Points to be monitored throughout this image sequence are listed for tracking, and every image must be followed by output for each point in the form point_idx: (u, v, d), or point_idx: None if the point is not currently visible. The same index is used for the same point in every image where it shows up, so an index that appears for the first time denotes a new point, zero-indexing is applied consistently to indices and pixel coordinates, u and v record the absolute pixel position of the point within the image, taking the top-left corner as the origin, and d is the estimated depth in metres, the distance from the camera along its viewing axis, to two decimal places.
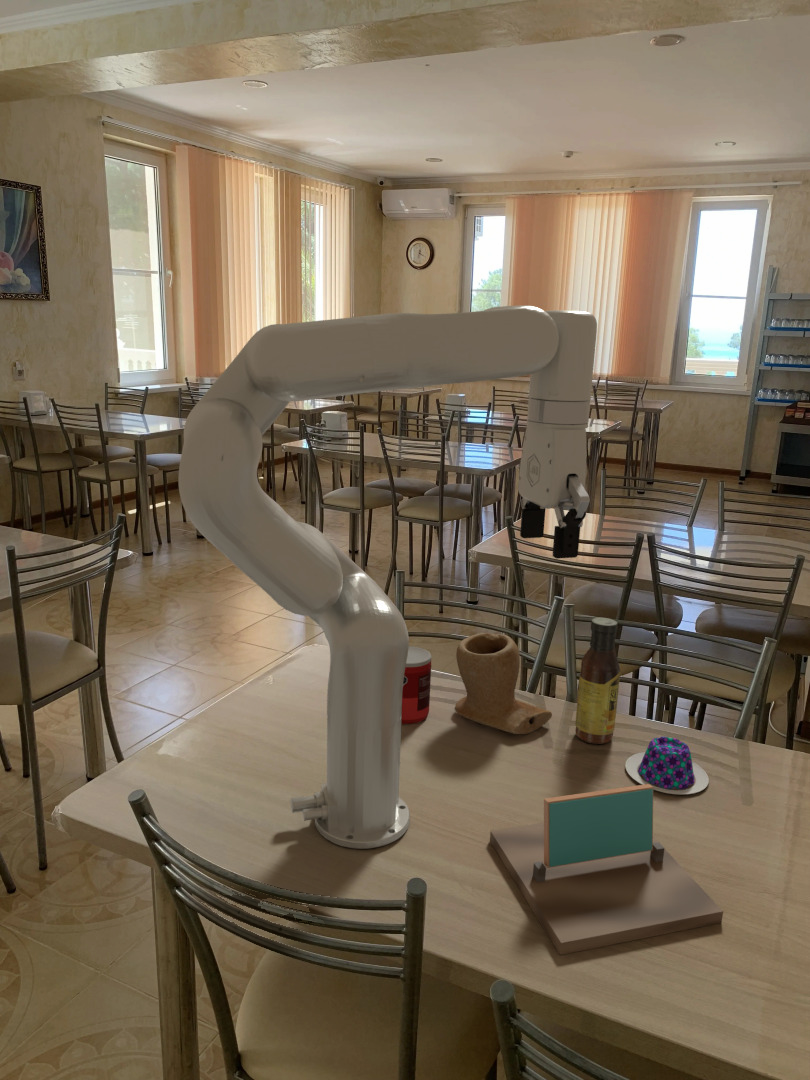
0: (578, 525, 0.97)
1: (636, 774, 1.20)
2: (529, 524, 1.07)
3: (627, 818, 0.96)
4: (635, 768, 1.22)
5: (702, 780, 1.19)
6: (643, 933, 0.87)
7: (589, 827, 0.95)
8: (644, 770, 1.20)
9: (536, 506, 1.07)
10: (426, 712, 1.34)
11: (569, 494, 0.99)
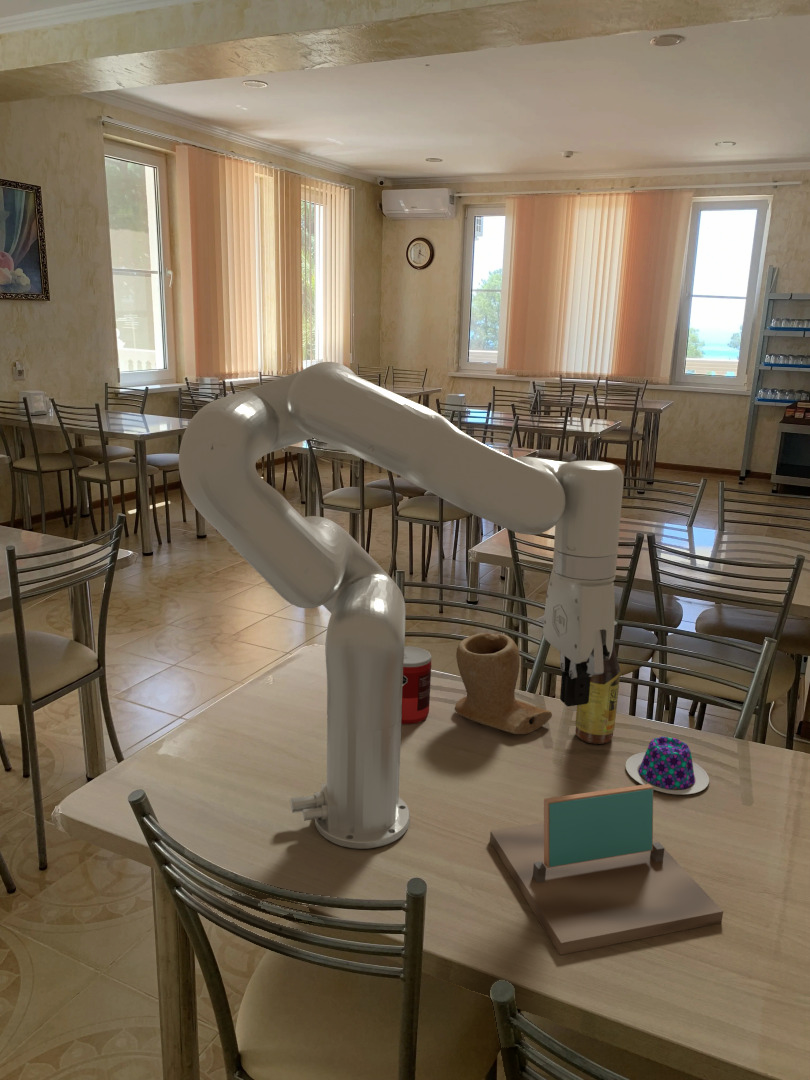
0: (589, 675, 0.99)
1: (637, 775, 1.20)
2: None
3: (627, 818, 0.96)
4: (635, 769, 1.22)
5: (702, 779, 1.19)
6: (643, 933, 0.87)
7: (589, 827, 0.95)
8: (645, 771, 1.20)
9: None
10: (426, 712, 1.34)
11: None
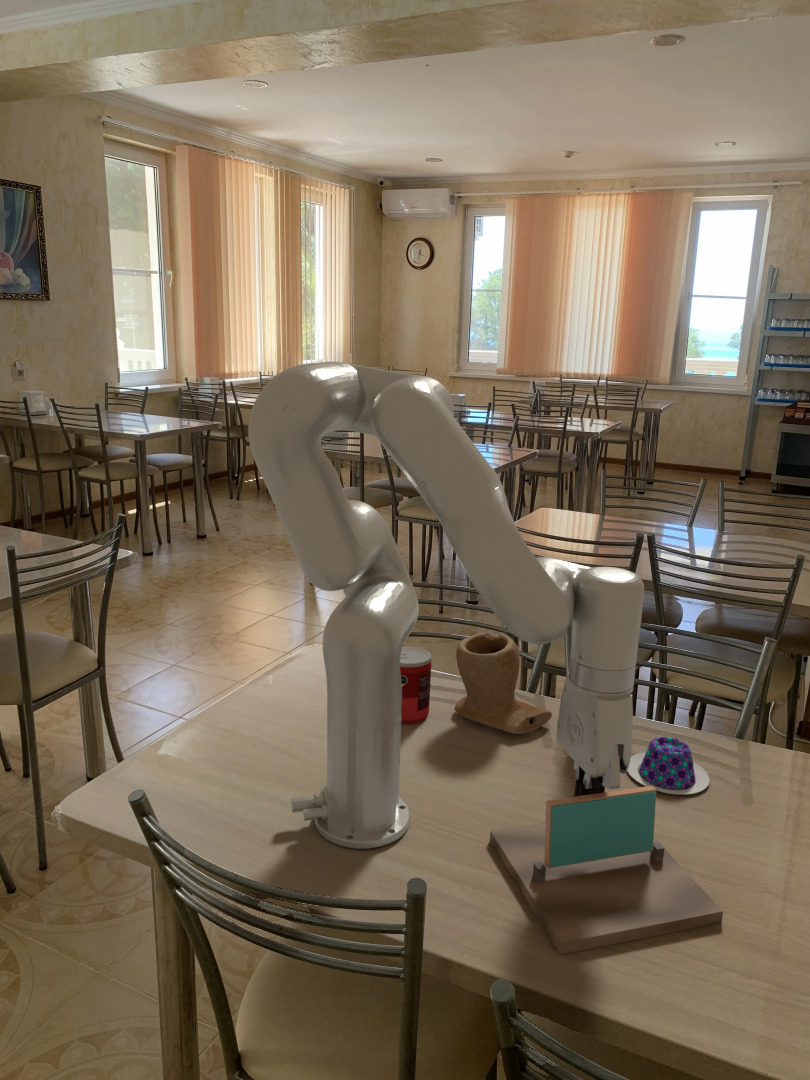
0: None
1: (638, 776, 1.20)
2: None
3: (629, 820, 0.96)
4: (636, 769, 1.21)
5: (702, 778, 1.19)
6: (643, 933, 0.87)
7: (591, 829, 0.94)
8: (646, 771, 1.19)
9: None
10: (426, 712, 1.34)
11: None
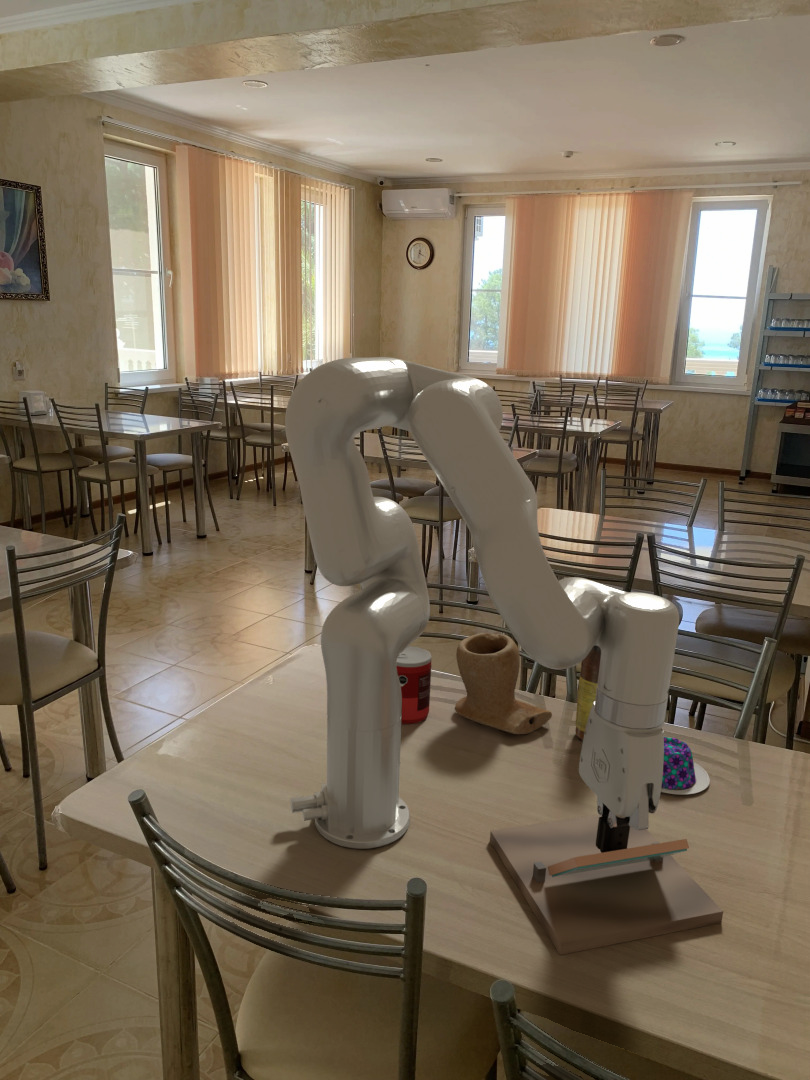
0: None
1: None
2: None
3: (647, 858, 0.92)
4: None
5: (702, 778, 1.19)
6: (643, 933, 0.87)
7: None
8: None
9: None
10: (426, 712, 1.34)
11: None
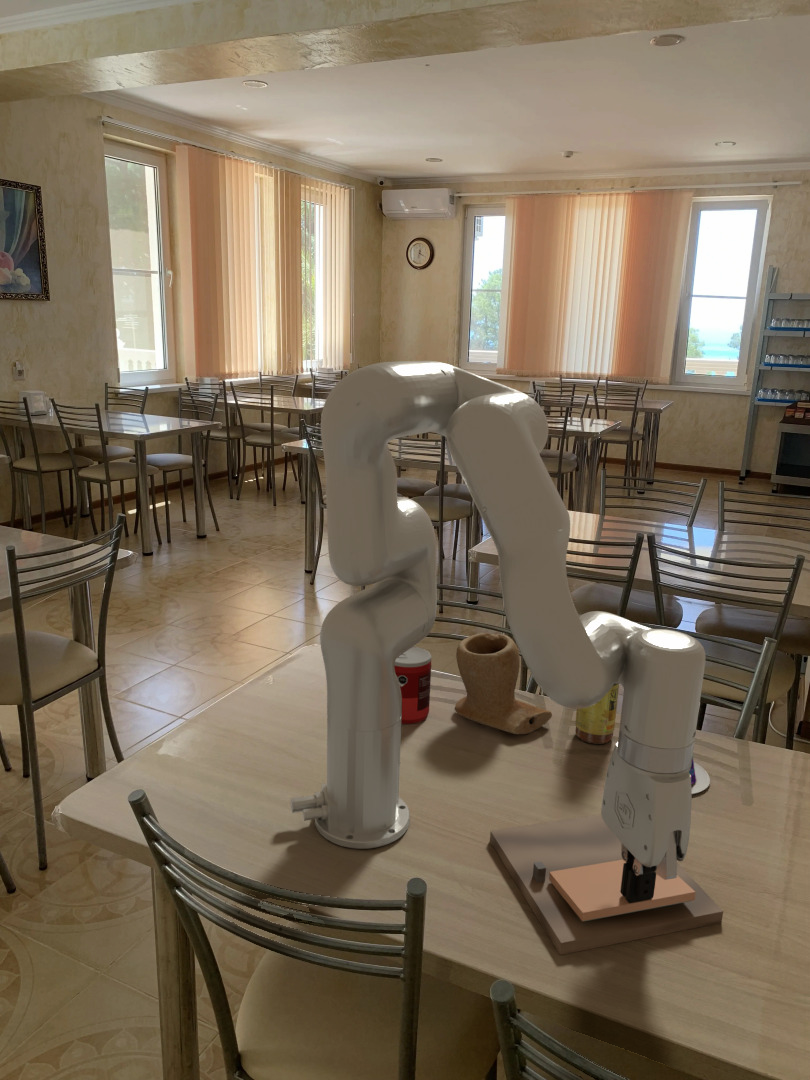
0: None
1: None
2: None
3: None
4: None
5: (702, 777, 1.20)
6: (643, 933, 0.87)
7: None
8: None
9: None
10: (426, 712, 1.34)
11: None
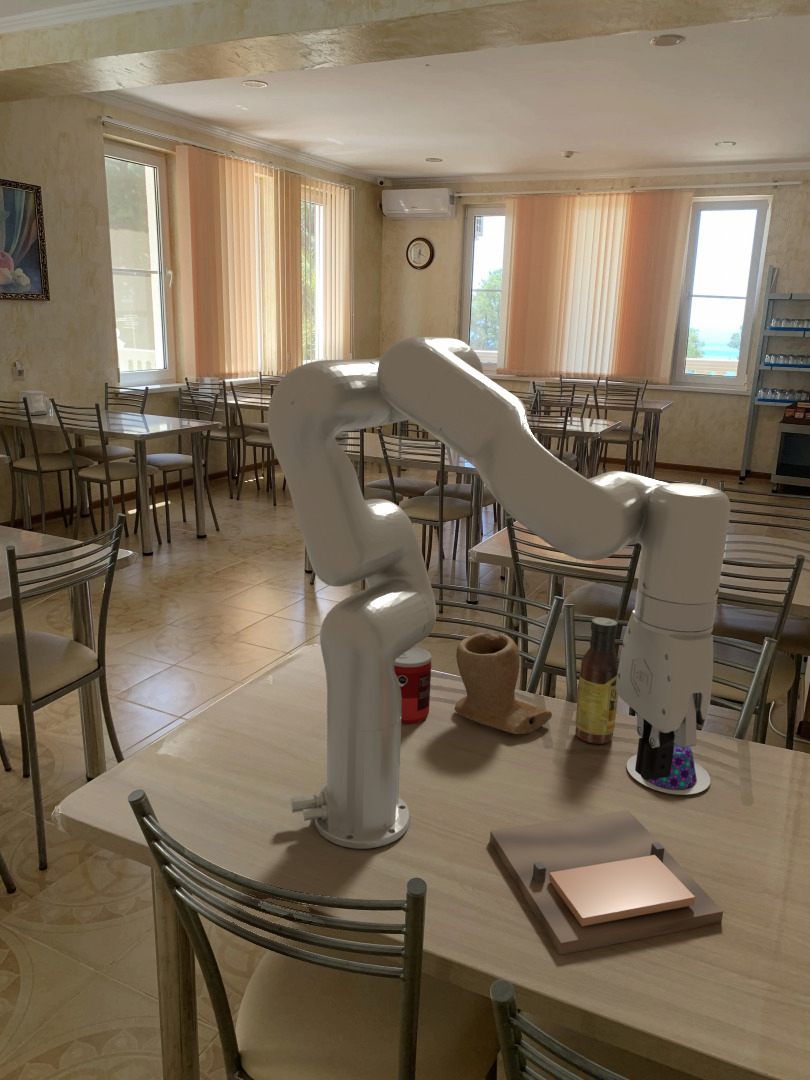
0: (673, 744, 0.81)
1: (640, 777, 1.19)
2: None
3: None
4: None
5: (702, 776, 1.20)
6: (643, 933, 0.87)
7: None
8: None
9: None
10: (426, 712, 1.34)
11: None
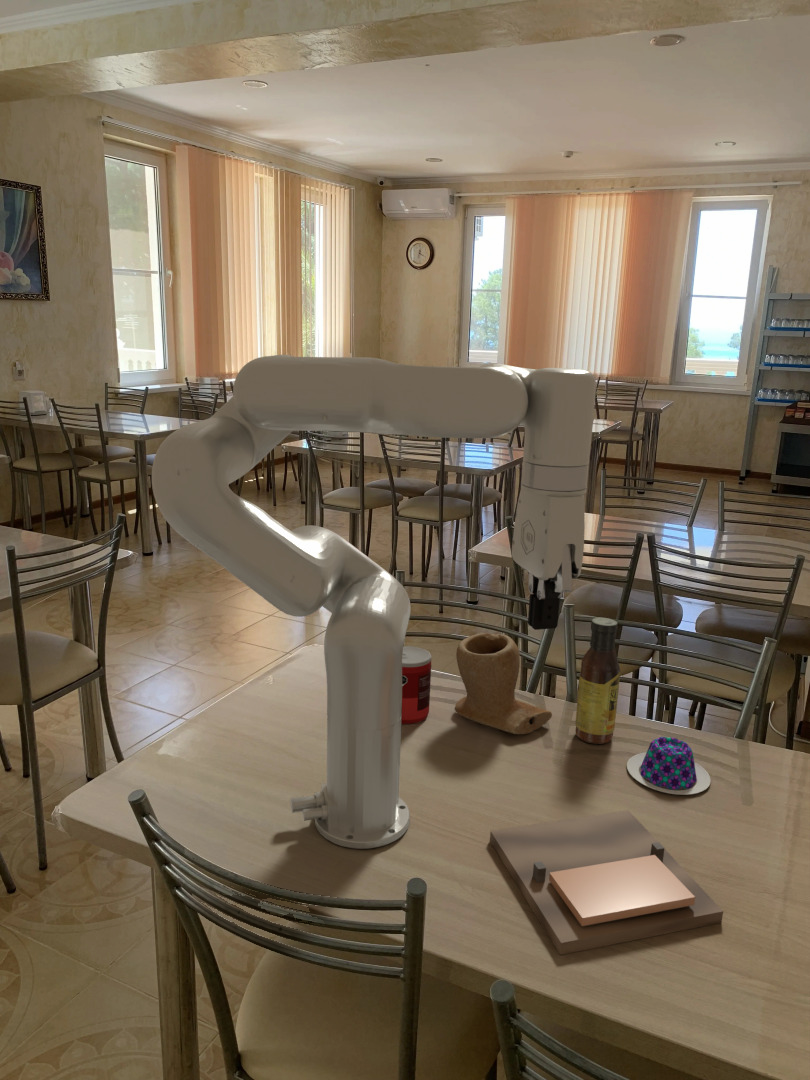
0: (557, 597, 0.95)
1: (641, 778, 1.19)
2: None
3: None
4: (637, 772, 1.21)
5: (702, 776, 1.20)
6: (643, 933, 0.87)
7: None
8: (649, 773, 1.19)
9: None
10: (426, 712, 1.34)
11: None
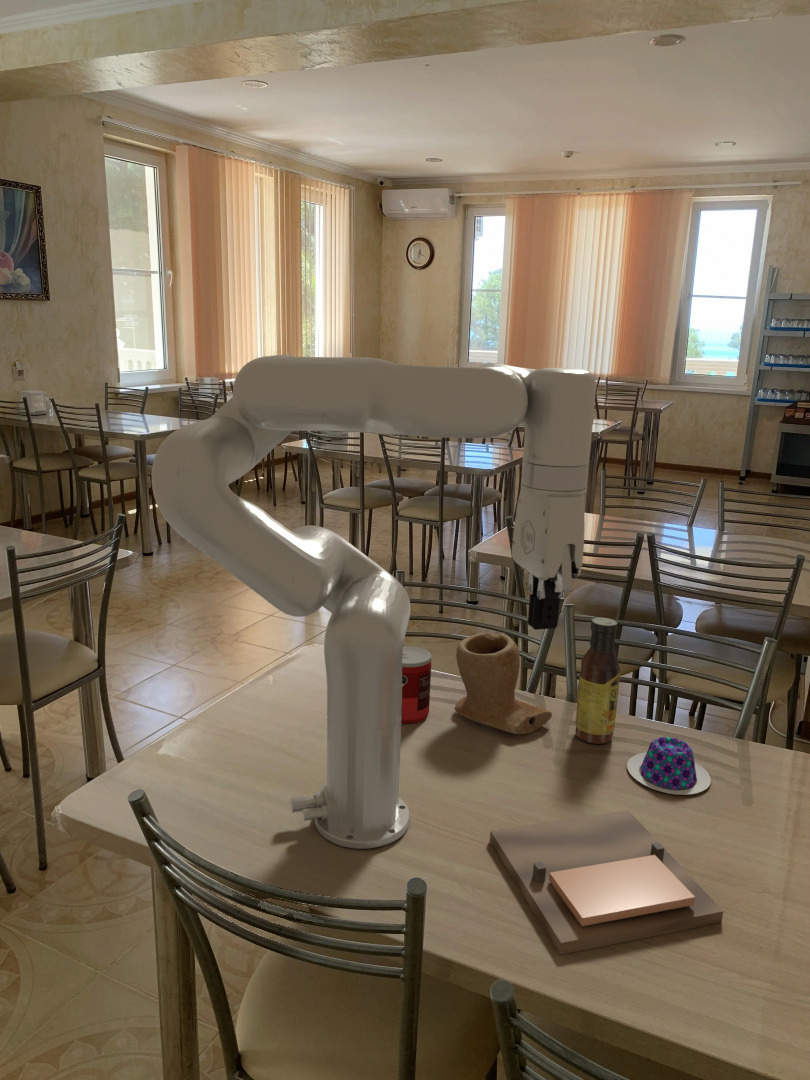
0: (557, 596, 0.95)
1: (642, 778, 1.19)
2: None
3: None
4: (637, 772, 1.21)
5: (702, 776, 1.20)
6: (643, 933, 0.87)
7: None
8: (649, 773, 1.19)
9: None
10: (426, 712, 1.34)
11: None
